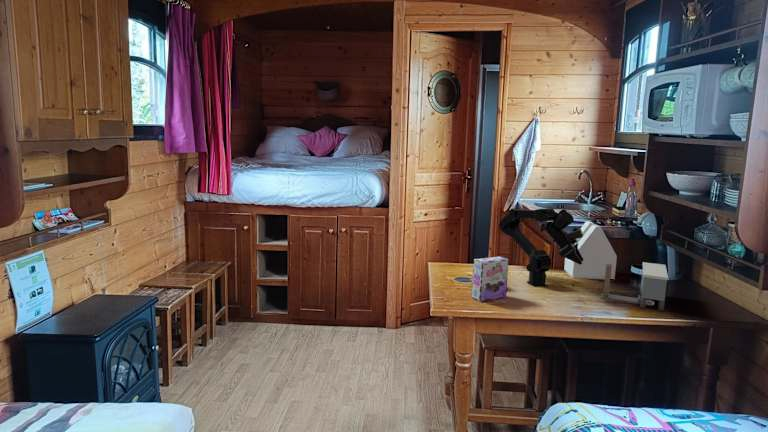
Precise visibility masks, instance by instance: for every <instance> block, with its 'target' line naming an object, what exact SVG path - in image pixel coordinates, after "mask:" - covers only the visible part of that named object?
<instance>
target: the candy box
mask: <svg viewBox="0 0 768 432" xmlns="http://www.w3.org/2000/svg"><path fill="white" fill-rule="evenodd" d="M509 263H510V262H509V259H508V258H506V257H503V256H494V257H487V258H486V257H484V258H474V259H473V266H472V268H473V269H472V281H471V294H470V295H471V296H470V298H471V299H473V300H475V301H478V302H486V301H494V300H500V299H505V298H506V299H507V289H508V276H509V275H508V273H509Z"/></svg>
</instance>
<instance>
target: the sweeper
mask: <svg viewBox="0 0 768 432" xmlns="http://www.w3.org/2000/svg"><path fill="white" fill-rule="evenodd" d="M611 269H612V265H611V264H607V265H606V274H605V279H604V286H603V292H601V293H600V297H599V299H601V300H607V301H614V302H622V303H628V304H632V305H633V304H634V305H639V306H640V301H641V297H642V296H641V294H638V295H637V297H632V296H625V295H620V294H619V295H618V294H611V293H610V288H611V287H610V286H611V280H610V279H611Z"/></svg>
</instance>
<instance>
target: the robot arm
mask: <svg viewBox="0 0 768 432" xmlns="http://www.w3.org/2000/svg"><path fill="white" fill-rule="evenodd" d="M574 218H575V217H574V216H573V215H572V214H571V213H570V212H569V211H567V209H566V208H564V209H561V210H560V211H558V212H556V211H555V209H554V208H552V207H550V208H549V207H548V208H537V209H523V208H513V209H511V210H510V211H509V213H507V214H506V215H504V216H503V218H502V219H501V220H500V222H499V224H498V228H499V230H500V231H501V232H502V233H503V234H504V235H506V236H509V237H511V238H512V239H513V240H514V242H516V244H517V245H518V246H519V247H520V248H521V249H522V250H523V252H524V253H525V254H526V255H527V256H528V260H529V261H528V263H527V265H526V271H527V272H529V275H528V280H527V281H526V283H527V284H529V285H530V286H532V287H546V286H547V284H546V280H547V274H546V273H547V272H549V270H550V268H551V266H552V258H551V254H548V253H547V252H546V250H545V249H540V250H539V249H537V247H536V246H535V245H534V244H533V243H532V242H531V241H530V240H529V238H527V237H526V235H525V234H524V233H523V232H522V231H521V227H520V223H521V220H522V219H533V220H535V221H538V222H541V223H542V224H541V225H540V229H539V231H540V232H541V233H542V232H544V231H545V232H546V233H547V234H548V236H549V237H550V238H551V239H552V242H553V243H555V244H557V246H558V247H559V248H558V249H559V251H558V255H559V256H560V257H561V258H564V259H565V258H567V259H569V260H571V261H574V262H576V263H578V264H580V265H581V264H582V262H581V261H583V260H584V259H583V258H582V256H581V254H580V252H579V250H578V243H577V242H578V240H577V239H578V238H582V237H583V234H582V231H581V228H578V227H577V226H576V227H573V228H572V231H570V232H568V231H566V230H564V229H566V228H568V226H570V225H571V224H572V223H574V222H575V219H574ZM545 222H546V223H545ZM574 243H577V244H574Z"/></svg>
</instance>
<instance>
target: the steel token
mask: <svg viewBox="0 0 768 432" xmlns="http://www.w3.org/2000/svg"><path fill="white" fill-rule="evenodd" d="M646 306H655V301H653V300H651V299H646Z"/></svg>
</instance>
